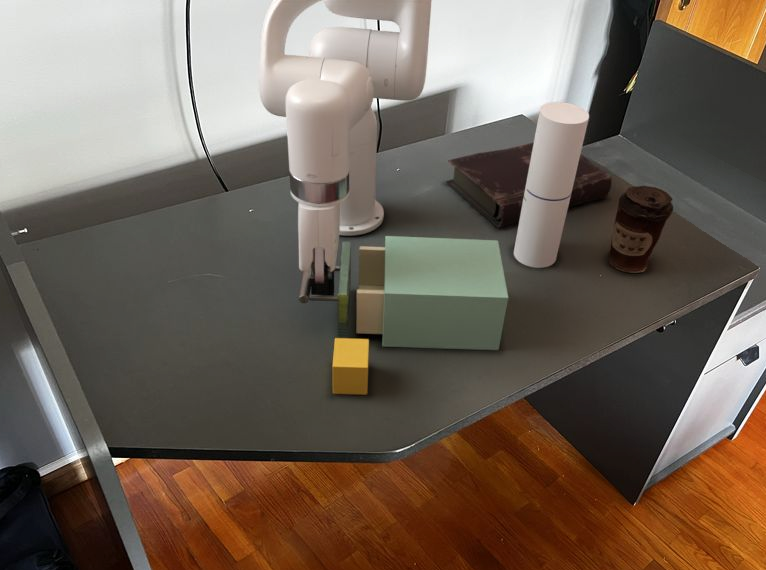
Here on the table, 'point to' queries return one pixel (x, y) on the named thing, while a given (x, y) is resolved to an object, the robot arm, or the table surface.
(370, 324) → the fridge drawer
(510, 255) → the table surface
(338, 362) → the block
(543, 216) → the cylindrical container
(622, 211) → the coffee cup
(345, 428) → the table surface
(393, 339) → the fridge
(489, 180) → the diary
